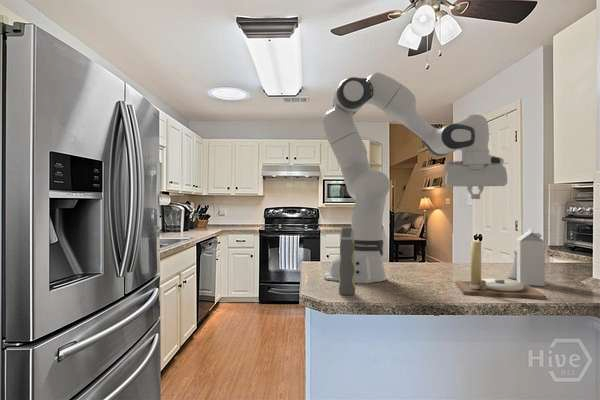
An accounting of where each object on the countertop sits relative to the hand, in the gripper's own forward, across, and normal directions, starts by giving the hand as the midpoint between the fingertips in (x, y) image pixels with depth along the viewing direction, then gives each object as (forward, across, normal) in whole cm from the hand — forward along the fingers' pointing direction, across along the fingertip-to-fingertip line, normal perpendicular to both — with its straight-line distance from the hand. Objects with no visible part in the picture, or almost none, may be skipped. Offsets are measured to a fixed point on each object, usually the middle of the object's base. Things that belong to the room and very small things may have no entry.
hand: (475, 199), depth 134 cm
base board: (+29, +3, -16) cm, 34 cm away
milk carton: (+29, +17, -2) cm, 34 cm away
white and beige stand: (+28, +2, -17) cm, 33 cm away
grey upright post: (+29, -42, -33) cm, 61 cm away
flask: (+29, +16, +7) cm, 34 cm away
